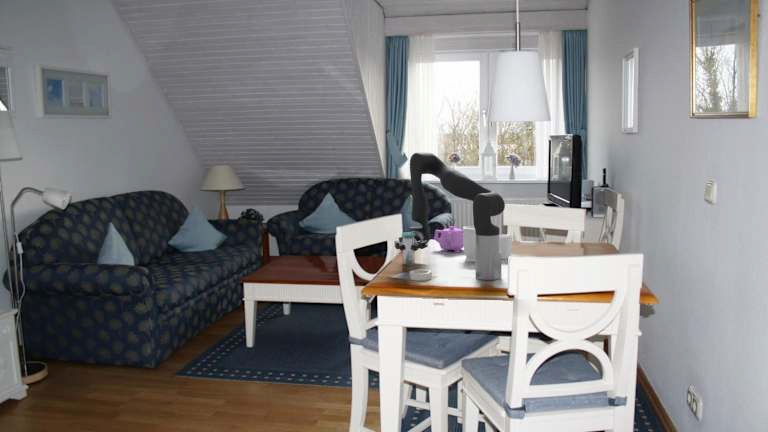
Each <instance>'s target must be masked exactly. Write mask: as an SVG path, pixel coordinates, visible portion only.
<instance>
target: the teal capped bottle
mask: <svg viewBox="0 0 768 432" xmlns="http://www.w3.org/2000/svg"><path fill="white" fill-rule="evenodd" d="M414 236H415V233H413V232H407V231H405V232H402V233H401V237H402V241H403V251H402V253H403V254H402V257H403V265H415V261H416V260H415V251H413V245H414Z"/></svg>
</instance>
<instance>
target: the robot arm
mask: <svg viewBox="0 0 768 432" xmlns="http://www.w3.org/2000/svg"><path fill="white" fill-rule="evenodd" d="M409 173H410V174H409V175H410V184H411V201H412V203H411V217H410V218H411V220H412V221H413V222H415V223H418V224H420V225H421V227H419V226H408V228H407V230H406V232H413V233H415V236H414V245H413V251H414V252H416V251H418V250H419V249H420V250H424V249H426V248H428V246H429V245H428V243H429V242H430V240H431V231H430V227H429V221H428V220H429V219H428V214H429V201H428V197H427V195H426V192H425V190H424V188H423V182H422V179H423V178H422V177H423V176H422V175H432V176H434V177H436V178H437V179H439V181H440V184H441V186H442V188H443V189H444V190H445V191H447V192H448V193H449V194H451V195H454V197H457V198H460V199H463V200H468V201H471V202H472V218H473V219H472V221H473V223H472V224H473V226H474V228H475V232H476V262H475V279H478V280H482V281H483V280H487V281H492V280H493V281H495V280H498V279H501V278H502V259H501V253H499V235H500V227H499V226H498V225H495V224H493V223H492V217H497V216H499V215H501V214H502V213H503V212H504V211H505V208H506V204H505V200H504V198H503V197H502V195H501V194H499V193H498V192H496V191H493V190H491V189H489V188H487V187H484V186H483V185H482V184H479V183H477V182H476V181H475V180H473V179H471V178H469V177H468V176H466V175H465V174H463V173H462V172H460V171H459V170H457V169H455V168H453V167H452V166H450V165H449V164H447V163H445V162H444V161H443V160H442V159H440V158H439V157H438V156H437V155H435V154H434V153H432V152H414V153H413V154H412V155H411V157H410V160H409ZM394 248H395V249H396V250H400V251H402V252H403V240H401V242H400V241H399V240H394Z"/></svg>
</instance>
